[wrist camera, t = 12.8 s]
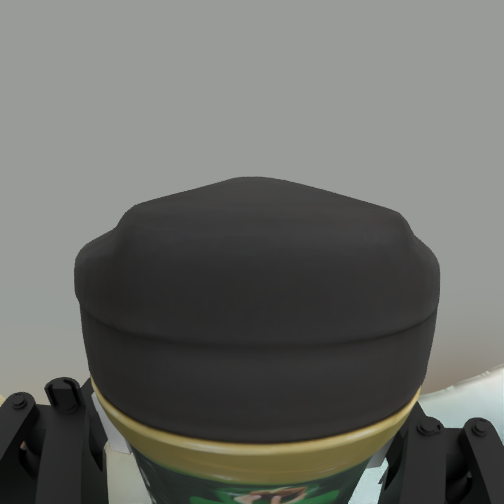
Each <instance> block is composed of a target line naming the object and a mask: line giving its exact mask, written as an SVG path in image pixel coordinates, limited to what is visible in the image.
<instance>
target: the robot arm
mask: <svg viewBox="0 0 504 504" xmlns="http://www.w3.org/2000/svg"><path fill="white" fill-rule="evenodd" d="M44 389H45V392H46V394H47V397H48V399H49V401H50V404H51V406H50V405H40V404H36V402H35V400H34V398H33V396H32V395H30V394H29V393H26V392H18V393H14V394H12V395H10V396H9V397H8V398H7V399H6V400H5V402H4V403H3V404H2V406H1V407H0V504H109V501H108V487H107V467H106V453H105V450H104V446H105V444H106V442H107V440H108V442H109V444H110V447H111V449H112V450H115V451H118V452H122V453H126V454H129V455H130V454H131V452H132V449H131V447H130V445H129V443H128V441H127V440H126V439H125V438H124V437H123V436H122V435H121V434H120V433H119V431H118V430H117V429H116V428H115V427H114V425H113V424H112V423H111V421H110V420H109V419H108V417H107V415H106V414H105V412H104V410H103V409H102V407H101V405H100V403H99V401H98V399H97V396H96V394H95V392H94V389H93V387H92V383H91V376H90V378H89V379H88V380H87V381H86V382H85V383H84V385H83V386H82V387H81V388H80V385H79V383H78V382H77V381H76V380H74V379H72V378H68V377H61V378H56V379H54V380H51V381H50V382H49V383H47V384H46V386H45V388H44ZM23 442H24V443H25V445H24V446H23V447H22V448H21V445H22V443H23ZM385 457H386V459H387V462H388V465H389V466H388V467H387V469H386V471H385V472H384V474H383V476H382V478H381V479H380V481H379V483H378V484H381V483H382V482H383V483H382V488H381V492H380V496H379V500H378V504H504V446H503V444H502V442H501V440H500V438H499V436H498V434H497V432H496V430H495V428H494V426H493V425H492V424H491V422H489V421H488V420H486V419H483V418H471V419H469V420H468V421H467V422H466V423H465V425H464V427H463V428H444V426H443V424H442V423H441V422H440V421H439V420H437V419H435V418H433V417H428V416H426V415H425V413H424V412H423V410H422V408H421V406H420V405H419V403H418V401H416V403H415V405H414V407H413V409H412V410H411V412H410V414H409V415H408V417H407V419H406V420H405V422H404V423H403V425H402V426H401V428H400V429H399V430H398V431H397V432H396V434H395V435H394V436H393V437H392V438H391V439H390V440H389V441H388V442H387V443H386V444H385V445H384V446H383V447H382V448H381V449H380V450H378V451H377V452H376V453H375V454H374V455H373V456H372V458H371V460H370V461H369V463H368V465H367V467H366V469H367V468H374V467H380V466H381V465H382V463H383V461H384V459H385Z"/></svg>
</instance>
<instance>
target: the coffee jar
mask: <svg viewBox="0 0 504 504" xmlns="http://www.w3.org/2000/svg"><path fill="white" fill-rule="evenodd" d="M74 284H75V294H76V297H77V299H78V301H79V304H80V313H81V322H82V332H83V339H84V344H85V349H86V354H87V359H88V366H89V371H90V376H91V383H92V387H93V389H94V392H95V394H96V396H97V399H98V401H99V403H100V405H101V407H102V409H103V410H104V412H105V414H106V415H107V417H108V419H109V420H110V421H111V423H112V424H113V425H114V427H115V428H116V429H117V430H118V431H119V433H120V434H121V435H122V436H123V437H124V438H125V439H126V440H127V441H128V443H129V445H130V447H131V449H132V452H133V454H134V457H135V459H136V462H137V465H138V467H139V470H140V473H141V475H142V478H143V481H144V483H145V486H146V488H147V491H148V493H149V496H150V498H151V500H152V503H153V504H348V502H349V500H350V498H351V496H352V494H353V492H354V490H355V488H356V486H357V484H358V482H359V480H360V478H361V476H362V474H363V472H364V470H365V469H366V467H367V465H368V463H369V461H370V460H371V458H372V456H373V455H374V454H375V453H376V452H377V451H378V450H380V449H381V448H382V447H383V446H384V445H385V444H386V443H387V442H388V441H389V440H390V439H391V438H392V437H393V436H394V435H395V434H396V432H397V431H398V430H399V429H400V428H401V426H402V425H403V423H404V422H405V420H406V419H407V417H408V415H409V414H410V412H411V410H412V409H413V407H414V405H415V403H416V401H417V400H418V398H419V394H420V390H421V386H422V383H423V381H424V379H425V375H426V371H427V365H428V360H429V356H430V351H431V347H432V342H433V336H434V331H435V324H436V316H437V307H438V303H439V295H440V268H439V263H438V261H437V258H436V257H435V255H434V253H433V252H432V251H431V250H430V249H429V248H428V247H427V246H426V245H425V244H424V243H423V242H422V241H421V240H419V239H418V238H417V237H416V236H415V235H414V234H413V232H412V230H411V228H410V226H409V224H408V222H407V221H406V220H405V219H404V217H402V215H401V214H400V213H398V212H396V211H394V210H391V209H388V208H385V207H382V206H379V205H375V204H372V203H368V202H365V201H361V200H358V199H354V198H350V197H347V196H344V195H340V194H336V193H333V192H329V191H326V190H322V189H318V188H314V187H310V186H306V185H303V184H299V183H294V182H290V181H286V180H280V179H274V178H266V177H238V178H232V179H229V180H226V181H222V182H218V183H214V184H211V185H207V186H204V187H200V188H197V189H192V190H188V191H184V192H180V193H176V194H172V195H169V196H165V197H161V198H157V199H154V200H150V201H147V202H143V203H140V204H137V205H135V206H133V207H132V208H131V209H129V210H128V211H127V212H125V214H124V215H123V217H122V218H121V220H120V221H119V223H118V225H117V226H116V227H115V228H114V229H113V230H111V231H109V232H107V233H105V234H103V235H102V236H100V237H98V238H96V239H94V240H92V241H91V242H89V243H87V244H86V245H85V246H84V247H83V248H82V249H81V250H80V252H79V253H78V255H77V257H76V259H75V268H74Z"/></svg>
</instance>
